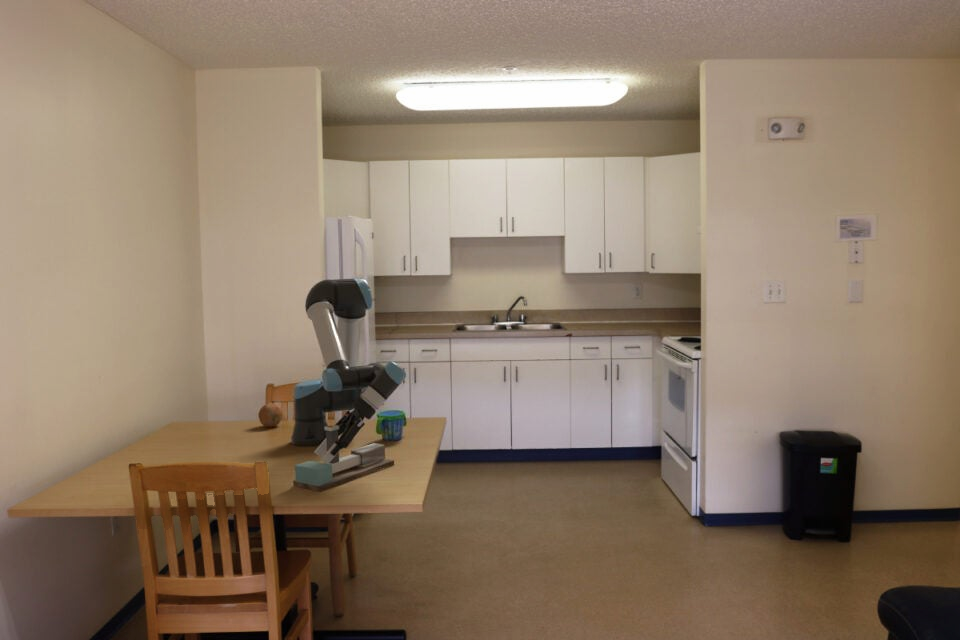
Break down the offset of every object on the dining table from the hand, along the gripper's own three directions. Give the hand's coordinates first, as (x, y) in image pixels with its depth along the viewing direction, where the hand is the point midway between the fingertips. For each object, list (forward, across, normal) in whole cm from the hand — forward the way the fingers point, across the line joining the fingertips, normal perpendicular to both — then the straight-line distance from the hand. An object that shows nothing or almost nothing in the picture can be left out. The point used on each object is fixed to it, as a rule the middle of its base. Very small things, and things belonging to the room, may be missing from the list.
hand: (320, 458), depth 245 cm
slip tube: (-1, +1, -8) cm, 8 cm away
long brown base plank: (-1, +2, -11) cm, 11 cm away
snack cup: (-21, +40, -32) cm, 56 cm away
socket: (+6, -5, -1) cm, 8 cm away
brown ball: (+7, +88, -7) cm, 89 cm away
